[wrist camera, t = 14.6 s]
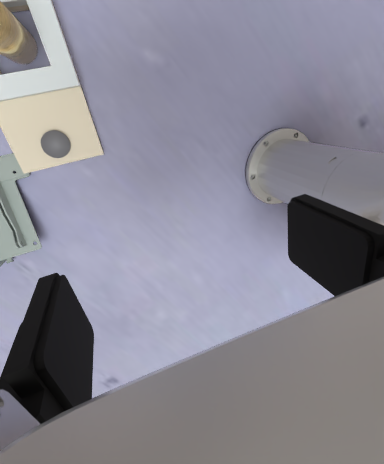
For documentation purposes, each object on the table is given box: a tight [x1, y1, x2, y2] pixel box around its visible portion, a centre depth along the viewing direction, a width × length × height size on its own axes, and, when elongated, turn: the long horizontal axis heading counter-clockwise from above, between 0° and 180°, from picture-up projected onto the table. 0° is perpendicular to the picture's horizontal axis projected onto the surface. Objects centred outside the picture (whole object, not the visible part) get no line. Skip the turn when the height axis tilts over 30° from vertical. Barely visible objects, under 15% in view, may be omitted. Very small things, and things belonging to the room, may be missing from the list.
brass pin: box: [0, 1, 37, 64], centre depth 24 cm, size 4×4×12 cm
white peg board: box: [0, 0, 104, 174], centre depth 27 cm, size 26×10×4 cm, turn 11°
